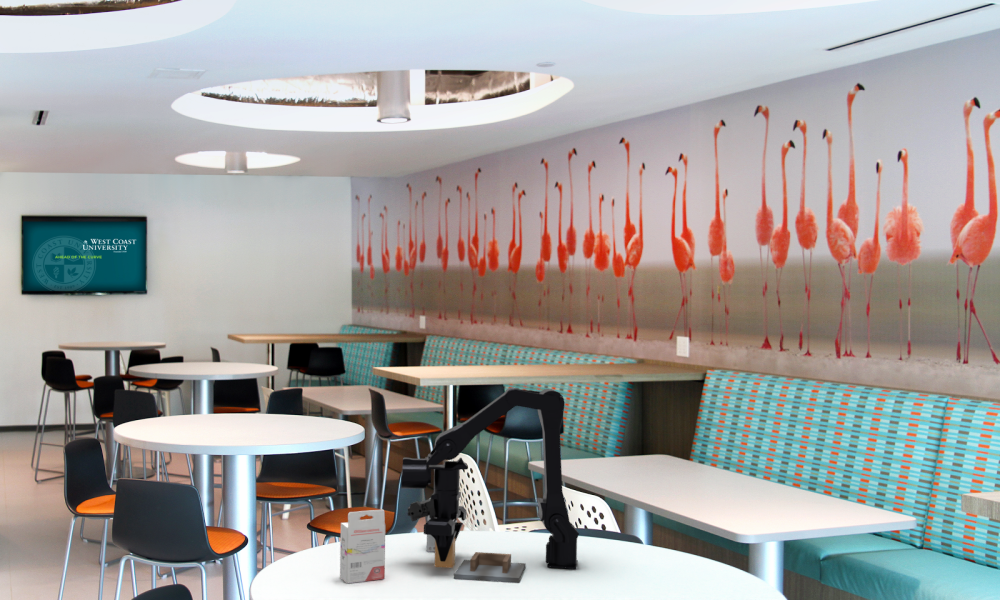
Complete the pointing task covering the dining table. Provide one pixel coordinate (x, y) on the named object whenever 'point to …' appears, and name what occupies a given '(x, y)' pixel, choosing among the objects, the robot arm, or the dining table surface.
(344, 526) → the ink cartridge box
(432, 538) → the skincare box
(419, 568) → the dining table surface
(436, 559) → the connector plug
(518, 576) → the end holder
